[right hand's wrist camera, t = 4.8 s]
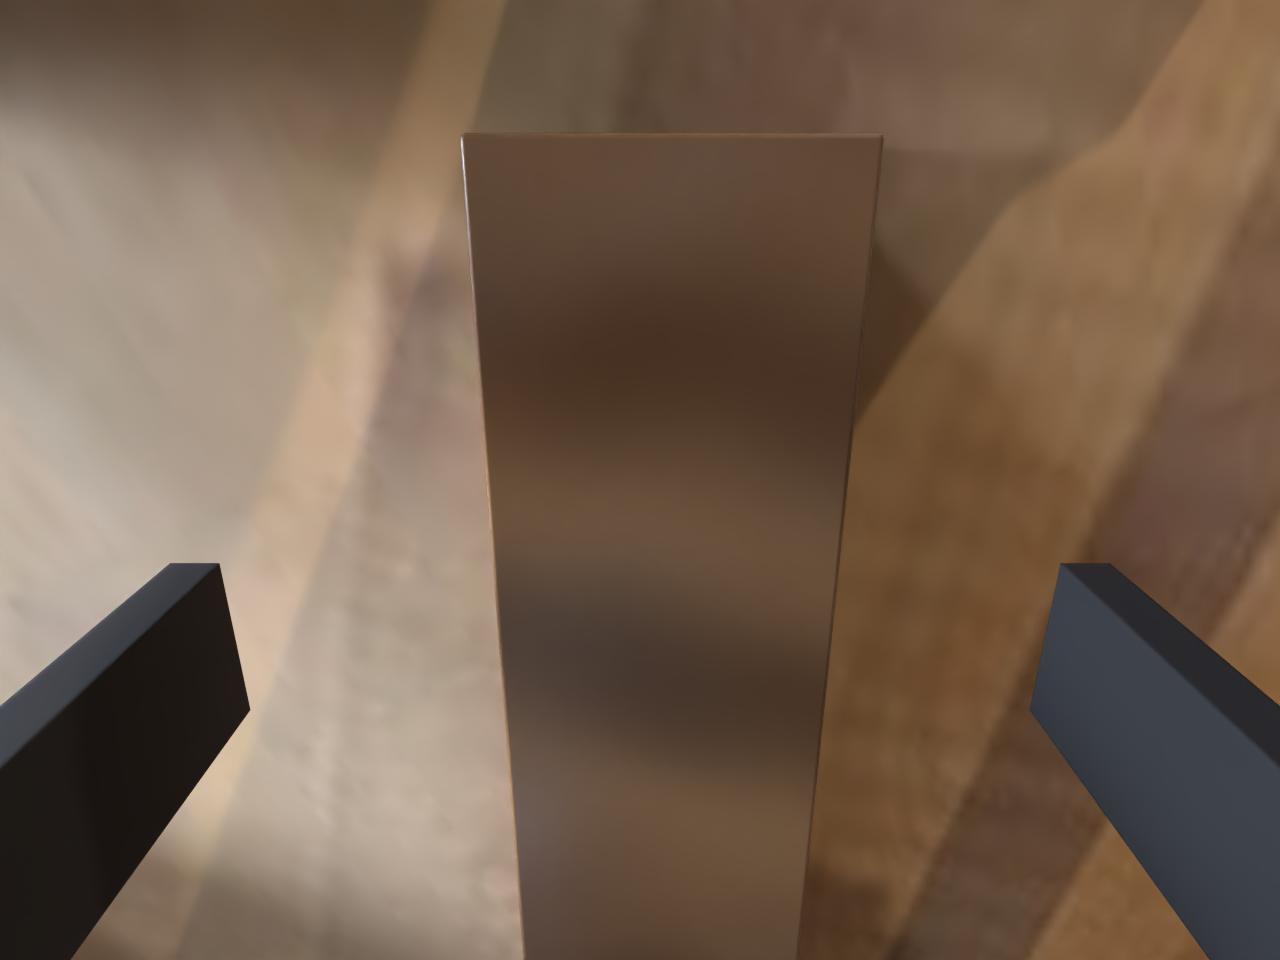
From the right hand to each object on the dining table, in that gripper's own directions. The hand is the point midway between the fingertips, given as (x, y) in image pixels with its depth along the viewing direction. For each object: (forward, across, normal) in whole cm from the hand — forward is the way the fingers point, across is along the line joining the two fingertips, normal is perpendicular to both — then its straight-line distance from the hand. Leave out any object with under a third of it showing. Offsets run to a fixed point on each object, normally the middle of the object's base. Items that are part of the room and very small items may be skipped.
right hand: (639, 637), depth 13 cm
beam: (+9, +1, -21) cm, 23 cm away
